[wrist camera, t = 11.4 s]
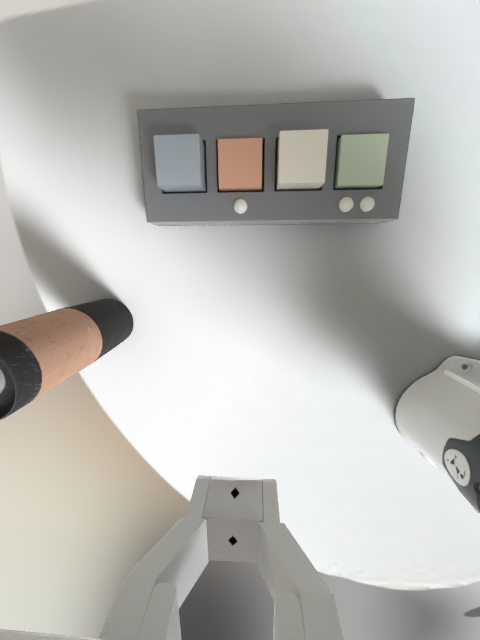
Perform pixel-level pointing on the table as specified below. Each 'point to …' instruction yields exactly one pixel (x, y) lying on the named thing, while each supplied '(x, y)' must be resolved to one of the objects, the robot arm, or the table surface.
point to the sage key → (360, 161)
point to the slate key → (180, 163)
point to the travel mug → (56, 348)
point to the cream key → (301, 160)
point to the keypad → (267, 125)
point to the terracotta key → (240, 165)
